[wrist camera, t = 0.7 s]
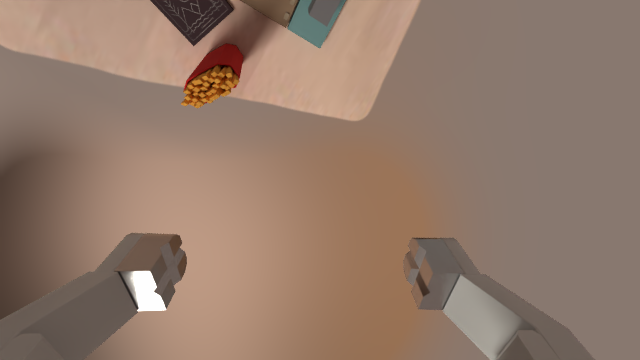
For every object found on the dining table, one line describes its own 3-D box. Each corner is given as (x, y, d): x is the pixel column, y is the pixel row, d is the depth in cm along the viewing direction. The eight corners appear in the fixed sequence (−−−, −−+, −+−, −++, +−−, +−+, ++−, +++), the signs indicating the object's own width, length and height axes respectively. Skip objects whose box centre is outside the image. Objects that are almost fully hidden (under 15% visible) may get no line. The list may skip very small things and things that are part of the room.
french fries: (212, 81, 47) (192, 119, 38) (195, 60, 44) (169, 95, 35) (254, 58, 45) (244, 93, 36) (238, 34, 42) (223, 64, 33)
